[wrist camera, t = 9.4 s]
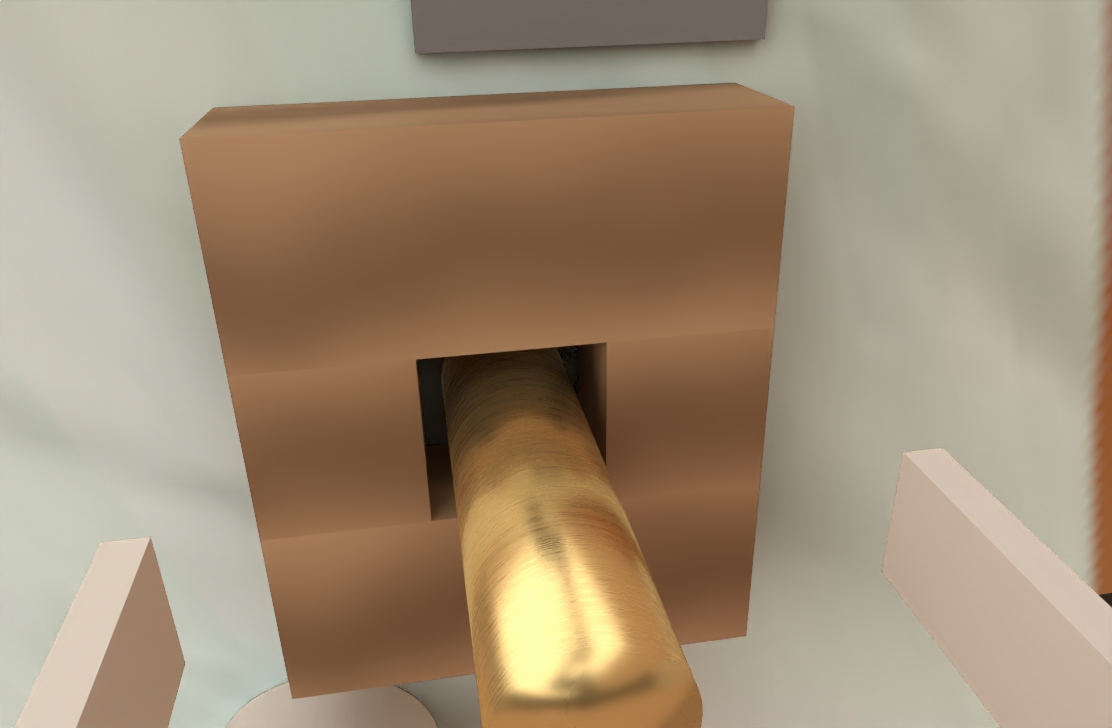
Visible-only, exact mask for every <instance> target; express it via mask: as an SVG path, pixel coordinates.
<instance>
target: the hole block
mask: <svg viewBox="0 0 1112 728" xmlns="http://www.w3.org/2000/svg"><path fill="white" fill-rule="evenodd" d="M793 116H794V106H792V105H789V104H787V103H784V102H782V101H779V100H777V99H774V98H772V97H769V96H767V95H764V94H762V93H759V92H757V91H754V90H752V89H749V88H747V87H744V86H742V85H739V84H737V83H722V84H701V85H680V86H659V87H638V88H617V89H596V90H576V91H555V92H534V93H513V94H492V95H471V96H450V97H429V98H409V99H388V100H367V101H346V102H325V103H304V104H283V105H262V106H242V107H221V108H212V109H211V110H210V111H209V112H208V113H207V114H206V115H205V116H204V117H203V118H201V119H200V120H199V121H198V122H197V123H196V124H195V125H194V126H193V127H192V128H191V129H189V130H188V131H187V132H186V133H185V134H184V135H183V136H182V137H181V138H180V144H181V149H182V154H183V159H184V164H185V169H186V174H187V179H188V184H189V189H190V194H191V199H192V204H193V209H194V214H195V219H196V224H197V229H198V234H199V239H200V244H201V249H202V254H203V259H204V264H205V269H206V273H207V278H208V283H209V288H210V293H211V298H212V303H213V308H214V313H215V318H216V323H217V328H218V333H219V338H220V343H221V348H222V353H223V358H224V363H225V368H226V373H227V378H228V383H229V388H230V393H231V398H232V403H233V408H234V413H235V418H236V423H237V428H238V432H239V437H240V442H241V447H242V452H243V457H244V462H245V467H246V472H247V477H248V482H249V487H250V492H251V497H252V502H253V507H254V512H255V517H256V522H257V527H258V532H259V537H260V542H261V547H262V552H263V557H264V562H265V567H266V572H267V577H268V582H269V587H270V592H271V596H272V601H273V606H274V611H275V616H276V621H277V626H278V631H279V636H280V641H281V646H282V651H283V656H284V661H285V666H286V671H287V676H288V681H289V686H290V691H291V696H292V699H298V698H305V697H312V696H319V695H327V694H334V693H341V692H348V691H355V690H362V689H369V688H377V687H384V686H391V685H398V684H405V683H412V682H420V681H427V680H434V679H441V678H448V677H455V676H462V675H470V674H476V672H475V663H474V655H473V646H472V638H471V629H470V621H469V612H468V604H467V595H466V587H465V578H464V570H463V561H462V553H461V544H460V536H459V527H458V519H457V510H456V502H455V493H454V485H453V476H452V467H451V459H450V450H449V444H444V445H434V446H426V439H425V428H424V418H423V408H422V398H421V387H420V377H419V367H418V359H427V358H438V357H450V356H461V355H472V354H483V353H494V352H506V351H517V350H528V349H539V348H551V347H562V346H573V345H578V400H579V403H580V405H581V408H582V410H583V412H584V415H585V417H586V420H587V422H588V424H589V427H590V429H591V432H592V434H593V436H594V439H595V441H596V444H597V446H598V449H599V451H600V453H601V456H602V458H603V461H604V463H605V465H606V468H607V470H608V473H609V475H610V477H611V480H612V482H613V485H614V487H615V490H616V492H617V494H618V497H619V499H620V502H621V504H622V506H623V509H624V511H625V514H626V516H627V518H628V521H629V523H630V526H631V528H632V531H633V533H634V535H635V538H636V540H637V543H638V545H639V547H640V550H641V552H642V555H643V557H644V559H645V562H646V564H647V567H648V569H649V571H650V574H651V576H652V579H653V581H654V584H655V586H656V588H657V591H658V593H659V596H660V598H661V600H662V603H663V605H664V608H665V610H666V612H667V615H668V617H669V620H670V622H671V625H672V627H673V629H674V632H675V634H676V637H677V639H678V641H679V644H680V645H684V644H691V643H698V642H706V641H713V640H720V639H727V638H734V637H741V636H746V631H747V620H748V609H749V598H750V587H751V576H752V565H753V554H754V543H755V533H756V522H757V511H758V500H759V489H760V478H761V467H762V456H763V445H764V434H765V423H766V412H767V401H768V390H769V379H770V368H771V357H772V346H773V335H774V324H775V314H776V303H777V292H778V281H779V270H780V259H781V248H782V237H783V226H784V215H785V204H786V193H787V182H788V171H789V160H790V149H791V138H792V127H793Z"/></svg>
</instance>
